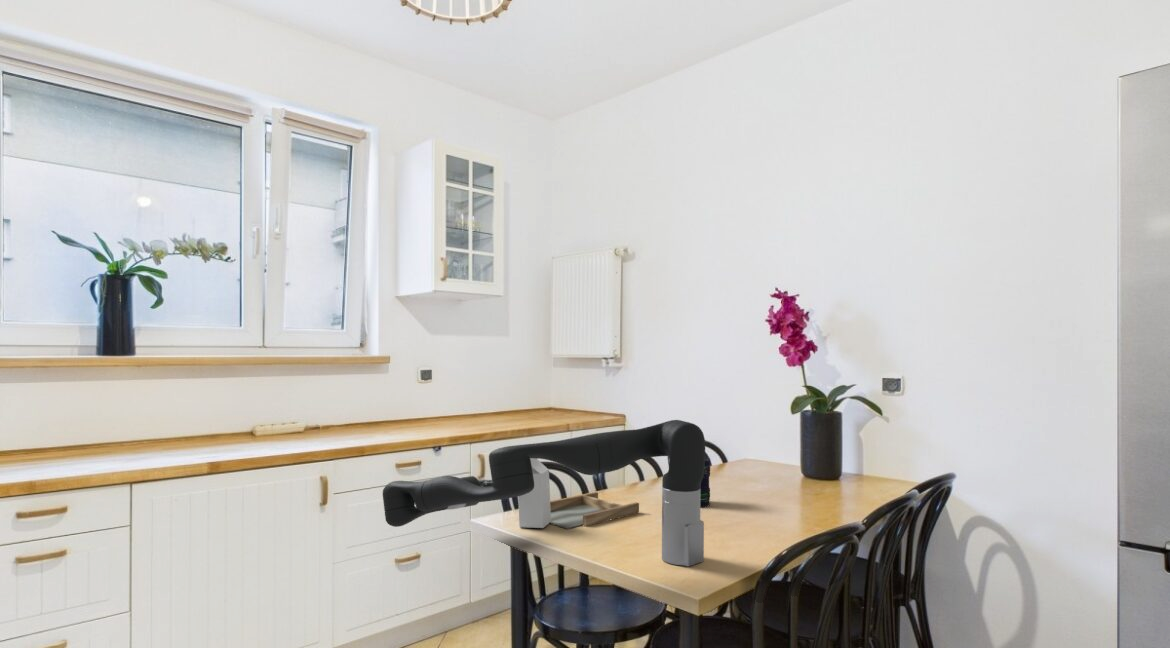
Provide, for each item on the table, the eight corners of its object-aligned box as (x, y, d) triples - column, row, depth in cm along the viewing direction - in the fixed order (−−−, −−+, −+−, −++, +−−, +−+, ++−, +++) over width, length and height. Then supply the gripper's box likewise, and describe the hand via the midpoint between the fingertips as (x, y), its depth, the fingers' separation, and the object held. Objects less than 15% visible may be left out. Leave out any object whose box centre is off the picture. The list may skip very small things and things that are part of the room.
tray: (638, 512, 192) (639, 503, 192) (569, 530, 172) (570, 519, 172) (595, 501, 206) (595, 491, 206) (527, 515, 186) (527, 505, 186)
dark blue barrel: (677, 506, 201) (678, 459, 201) (681, 499, 210) (682, 455, 211) (708, 508, 198) (709, 461, 198) (711, 501, 207) (711, 456, 208)
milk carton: (551, 521, 178) (548, 455, 180) (543, 528, 172) (540, 459, 173) (528, 521, 180) (525, 455, 182) (519, 528, 174) (516, 459, 175)
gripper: (473, 482, 155) (528, 473, 166) (446, 474, 164) (500, 466, 176) (472, 512, 154) (527, 501, 166) (445, 502, 164) (499, 493, 176)
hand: (513, 483), depth 171 cm, fingers closed
